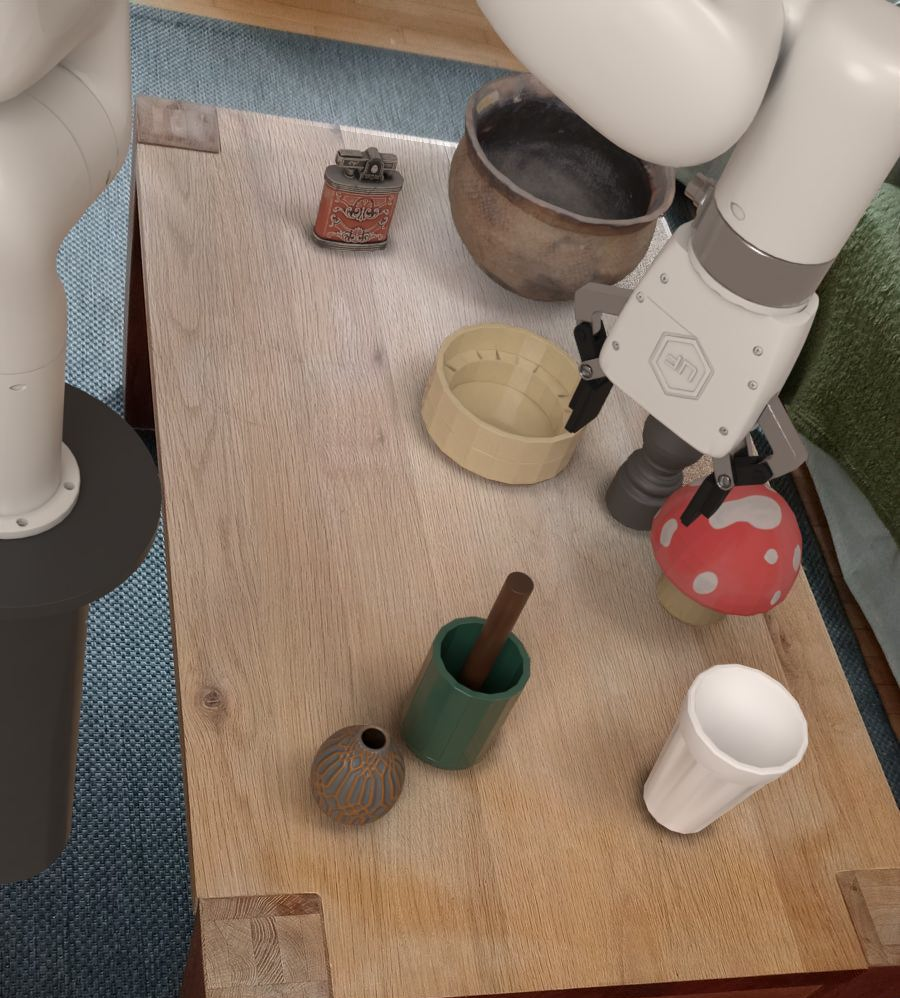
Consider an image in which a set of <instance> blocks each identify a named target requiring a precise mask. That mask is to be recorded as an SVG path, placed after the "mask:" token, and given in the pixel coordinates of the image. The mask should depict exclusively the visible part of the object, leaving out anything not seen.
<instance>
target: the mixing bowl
mask: <svg viewBox="0 0 900 998" xmlns="http://www.w3.org/2000/svg"><path fill="white" fill-rule="evenodd" d="M578 367H579V364H578V363H577V361H576V360H575V359H574V358H573V356H571V355H570V354H569V353H568V352H567V351H565V350H564V349H562V348H561V347H560V346H558V344H556V343H555V342H553V341H551V340H550V339H548V338H546V337H544V336H542V335H540V334H538V333H536V332H534V331H532V330H529V329H527V328H523V327H519V326H515V325H511V324H508V323H499V322H498V323H497V322H479V323H474V324H470V325H466V326H462V327H459V328H458V329H457V330H455V331H454V332H452V333H450V335H448V336H446V337H445V338H444V340H443V342H442V343H441V346H440V347H439V348H438V351H437V352H436V355H435V358H434V362H433V364H432V367H431V370H430V372H429V376H428V378H427V381H426V383H425V387H424V390H423V393H422V396H421V410H420V411H421V413H420V414H421V418H422V420H423V422H424V425H425V427H426V431H427V433H428V435H429V437H430V438H431V439H432V440H433V442H434V443H435V445H437V447H438V449H440V451H441V452H442V453H444V455H446V456H447V457H448V458H450V459H451V460H452V461H454V462H455V463H456V464H457V465H459V466H460V467H462V468H463V469H464V470H467V471H469V472H471V473H473V474H475V475H477V476H480V477H482V478H483V479H485V480H486V479H487V480H492V481H495V482H500V483H503V484H508V485H534V484H537V483H541V482H544V481H547V480H550V479H552V478H555V477H556V476H557V475H558V474H559V473H560V472H561V471H563V470H564V469H565V468H566V467H567V466H568V465H569V462H570V461H571V458H572V457H573V455H574V452H575V450H576V448H577V446H578V444H579V443H580V440H581V439H582V437H583V434H584V432H585V430H586V428H587V426H588V424H587V425H586V426H584V427H583V428H582V429H580V430H579V431H578V432H576V433H575V434H574V433H569V432H568V431H567V430H566V429H565V426H566V424H567V421H568V419H569V417H570V415H571V413H572V411H573V410H572V409H571V408H569V407H568V406H569V403H570V401H571V399H572V396H573V394H574V392H575V390H576V388H577V386H578V384H579V382H580V380H581V378H582V377H581V376H580V374H579V371H578Z"/></svg>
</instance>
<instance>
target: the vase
mask: <svg viewBox="0 0 900 998" xmlns="http://www.w3.org/2000/svg"><path fill="white" fill-rule="evenodd" d="M405 782H406V763H405V758H404V755H403V752H402V750H401V747H400V746H399V745H398V743H397V742H396V740H395V739H394V738H393V737H392V736H391V735H390V734H389V733H388V731H387V729H385V728H384V727H383V726H381V725H379V724H376V723H368V724H353V725H347V726H344V727H343V728H340V729H338V730H336V731H335V732H334V733H332V734H331V735H330V736H328V738H326V739H325V740H324V741H323V743H322V744H321V745H320V746H319V748H318V749H317V751H316V754H315V755H314V758H313V761H312V764H311V768H310V775H309V783H310V790H311V794H312V797H313V798H314V801H315V803H316V805H317V807H318V808H319V809H320V811H322V812H323V814H325V815H326V816H327V817H328V818H330V819H331V820H332V821H335V822H337V823H339V824H343V825H346V826H354V827H357V826H364V825H368V824H372V823H374V822H377V821H378V820H380V819H382V818H383V817H384V816H385V815H387V813H389V812H390V811H391V810H392V809H393V807H395V805H396V803H397V801H398V800H399V798H400V797H401V794H402V792H403V789H404V786H405Z"/></svg>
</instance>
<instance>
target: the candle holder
mask: <svg viewBox="0 0 900 998" xmlns="http://www.w3.org/2000/svg"><path fill="white" fill-rule="evenodd" d="M641 437H642V447H640V448H637V449H634V450H633V451H632V452H631V454H630V455H628V457H627V458H626V460H625V461H624V462H623V463H622V464H621V465H620V466H619V467H618V469H617V471H616V472H615V475H614V477H613V478H612V480H611V482H610V484H609V486H608V487H607V489H606V491H605V497H604V502H605V504H606V508H607V510H608V511H609V513H610V514H611V515H612V517H613V518H614V519H615V520H616V521H617V522H619V523H620V524H622V525H623V526H624V527H626V528H629V529H633V530H634V531H640V532H641V531H643V532H651V529H652V522H653V518H654V517H655V515H656V514H657V512H658V511H659V509H660V508H661V507H662V505H663V504H664V502H665V501H666V500H667V498H668V497H669V496H670V495H671V494H673V493H674V492H675V491H676V490H678V489H680V488H681V487H683V486H684V485H683V483H684V478H685V477H684V473H683V471H684V470H685V469H686V468H689V467H691V466H693V465H695V464H696V463H697V462H699V461H700V459H701V458H703V456H705V455H704V454H702V453H700V452H699V451H697V450H696V449H694V448H693V447H692V446H690V445H689V444H688V443H686V442H685V441H684V440H682V439H681V438H680V437H679V436H677V435H676V434H675V433H673V432H672V431H671V430H670V429H668V428H667V427H666V426H665V425H663V424H662V423H661V422H660V421H658V420H657V419H656V418H655V417H653V416H652V415H651V414H648V416H647V417H646V418H645V421H644V423H643V429H642V435H641Z"/></svg>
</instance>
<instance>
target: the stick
mask: <svg viewBox="0 0 900 998" xmlns="http://www.w3.org/2000/svg"><path fill="white" fill-rule="evenodd" d="M534 588H535V584H534V581H533V579H532V578H531V577H530V576H529V575H528V574H526V573H525V572H522V571H513V572H510V573H509V574H507V576H506V578H505V580H504V583H503V585H502V586H501V589H500V591H499V592H498V595H497V597H496V598H495V601H494V603H493V604H492V607H491V609H490V611H489V613H488V615H487V617H486V618H485V619H486V621H485V623H484V625H483V627H482V629H481V631H480V633H479V635H478V637H477V639H476V641H475V643H474V645H473V647H472V649H471V651H470V653H469V656H468V658H467V660H466V662H465V664H464V666H463V668H462V670H461V672H460V674H459V676H458V678H457V680H456V681H457V682H458V683H460V684H461V685H463V686H465V687H467V688H469V689H471V690H472V691H476V692H480V690H481V688H482V686H483V684H484V683H485V681H486V679H487V677H488V675H489V673H490V671H491V669H492V667H493V665H494V663H495V662H496V660H497V658H498V656H499V654H500V652H501V650H502V648H503V646H504V644H505V642H506V641H507V639H508V637H509V635H510V633H511V631H512V632H513V630H514V627H515V625H516V624H517V622H518V619H519V618H520V616H521V614H522V612H523V610H524V609H525V606H526V605H527V602H528V600H529V599H530V597H531V595H532V592H533V591H534Z"/></svg>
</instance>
